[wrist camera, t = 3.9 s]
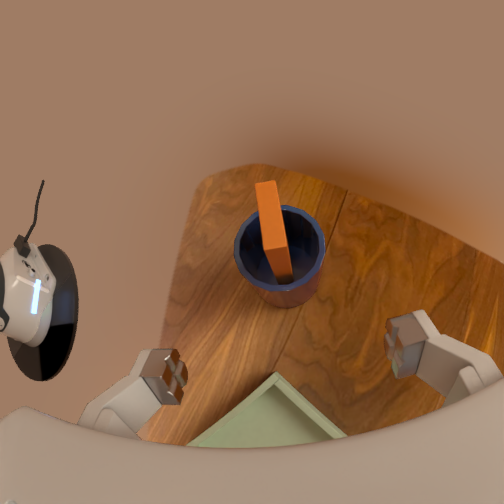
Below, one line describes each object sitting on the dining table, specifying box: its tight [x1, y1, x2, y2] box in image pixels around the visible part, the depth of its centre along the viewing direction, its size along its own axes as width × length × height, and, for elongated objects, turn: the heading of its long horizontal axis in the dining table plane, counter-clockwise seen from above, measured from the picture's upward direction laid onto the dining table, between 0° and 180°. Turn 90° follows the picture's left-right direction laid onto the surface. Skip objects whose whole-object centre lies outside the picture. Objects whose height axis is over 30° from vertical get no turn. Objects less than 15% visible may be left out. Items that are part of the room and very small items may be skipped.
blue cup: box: [234, 205, 326, 308], centre depth 26 cm, size 7×7×9 cm
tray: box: [185, 371, 347, 448], centre depth 21 cm, size 19×14×3 cm
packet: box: [255, 180, 294, 285], centre depth 23 cm, size 1×5×14 cm, turn 6°
